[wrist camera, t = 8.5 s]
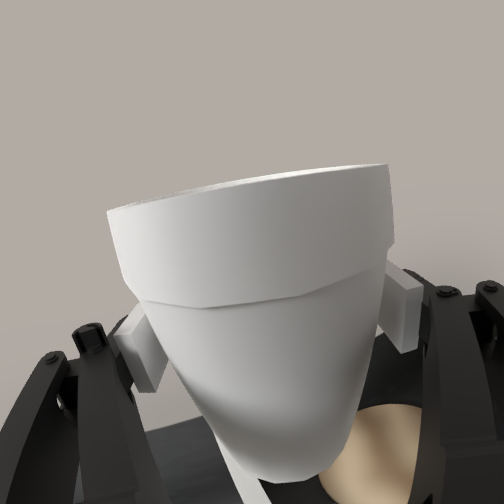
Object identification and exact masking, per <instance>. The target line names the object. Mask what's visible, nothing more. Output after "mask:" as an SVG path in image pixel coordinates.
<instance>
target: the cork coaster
mask: <svg viewBox="0 0 504 504" xmlns="http://www.w3.org/2000/svg"><path fill="white" fill-rule="evenodd" d="M421 412H422V409H421V408H418V407H415V406H410V405H403V404H385V405H378V406H373V407H369V408H366V409H363V410H360V411H358V412H356V415H355V419H354V422H353V425H352V428H351V431H350V434H349V437H348V440H347V442H346V444H345V448H344V449H343V451H342V452H341V453H340V455H339V456H338V457H337V459H336V460H335V461H334V463H333V464H332V465H331V467H330V468H328V469H326V470H324V471H322V472H320V473H319V474H318V476H319V480H320V482H321V485H322V487H323V489H324V490H325V492H326V493H327V494H328V495H329V496H330V498H331V499H332V500H334V501H335V502H336V503H337V504H407V503H408V500H409V497H410V493H411V488H412V483H413V478H414V472H415V466H416V459H417V452H418V444H419V436H420V425H421Z"/></svg>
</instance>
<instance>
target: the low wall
mask: <svg viewBox="0 0 504 504" xmlns="http://www.w3.org/2000/svg"><path fill="white" fill-rule="evenodd" d="M214 435H215V433H214ZM215 437H216V440H217V443H218V445H219V448H220V450H221V452H222V455H223V457H224V460H225V462H226V464H227V467H228V469H229V471H230V474H231V476H232V478H233V480H234V483H235V485H236V487H237V489H238V491H239V494H240V496H241V498H242V500H243V502H244V504H271V502H270V500H269V499H268V497H267V495H266V493H265V491H264V490H263V488H262V486H261V484H260V482H259V480H258V479H257V478H256V477H253V476H250V475H248V474H247V473H246V472H245V471H244V470H243V469H242V468H241V466H240V465H239V464H238V463H237V462H236V461H235V460H234V459H233V457H232V456H231V455H230V454H229V453H228V451H227V450H226V449H225V447H224V446H223V445H222V443H221V442H220V440H219V439H218V437H217V436H216V435H215Z"/></svg>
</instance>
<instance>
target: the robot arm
mask: <svg viewBox="0 0 504 504" xmlns="http://www.w3.org/2000/svg"><path fill="white" fill-rule="evenodd" d="M378 325H379V326H380V327H381V328H382V330H383V331H384V332H385V334H386V335H387V336H388V337H389V339H390V340H391V341H392V343H393V344H394V345H395V347H396V348H397V349H398V351H399V352H400V353H401V354H402V353H405V352H408V351H411V350H414V349H417V346H418V339H419V336H420V337H421V338H422V339H423V340H424V345H423V351H422V357H421V363H420V365H423V393H422V412H421V425H420V436H419V444H418V452H417V459H416V466H415V472H414V478H413V483H412V488H411V493H410V497H409V500H408V503H407V504H504V440H502V441H498V439H497V436H496V428H495V421H494V413H493V407H492V401H491V395H490V390H489V387H490V389H491V391H492V393H493V395H494V397H495V399H496V402H497V404H498V406H499V408H500V410H501V412H502V414H503V417H504V286H502V285H501V284H499V283H497V282H495V281H491V280H487V281H482V282H479V283H478V284H477V286H476V293H475V294H473V295H464V296H462V294H461V292H460V291H459V289H457V288H455V287H451V286H437V287H436V286H434V285H433V284H431V283H430V282H428V281H427V280H425V279H424V278H422V277H420V276H419V275H418V274H416V273H415V272H413V271H410V270H407V269H403V270H402V269H400V268H399V267H397V266H396V265H394V264H393V263H391V262H390V261H389V260H386V269H385V278H384V285H383V292H382V299H381V306H380V312H379V318H378ZM496 329H497V330H498V336H496V335H495V333H496ZM72 338H73V340H74V342H75V344H76V346H77V349H78V351H79V353H80V358H78V359H74V360H69V361H68V360H67V358H66V356H65V354H64V352H62V351H54V352H49V353H47V354H46V355H45V356H44V357H42V358H41V360H40V361H39V362H38V364H37V366H36V367H35V369H34V371H33V372H32V374H31V375H30V377H29V379H28V381H27V382H26V384H25V386H24V388H23V389H22V391H21V393H20V395H19V397H18V398H17V400H16V402H15V404H14V406H13V408H12V409H11V411H10V413H9V415H8V417H7V419H6V421H5V423H4V425H3V427H2V429H1V431H0V504H73V498H74V491H75V484H76V478H77V472H78V466H79V461H80V468H81V477H82V485H83V493H84V502H83V503H76V504H172V502H171V500H170V498H169V496H168V493H167V491H166V489H165V486H164V484H163V481H162V479H161V477H160V474H159V471H158V469H157V466H156V464H155V461H154V458H153V455H152V453H151V450H150V447H149V444H148V441H147V438H146V435H145V432H144V428H143V425H142V422H141V419H140V415H139V412H138V409H137V405H136V401H135V398H134V395H133V393H132V391H131V389H130V388H131V386H132V384H133V382H134V383H135V385H136V387H137V389H138V391H139V393H140V392H141V393H154V392H155V393H156V391H157V388H158V386H159V383H160V380H161V378H162V375H163V373H164V370H165V368H166V365H167V363H168V360H169V358H168V357H167V355H166V353H165V351H164V349H163V347H162V345H161V344H160V342H159V340H158V338H157V336H156V334H155V332H154V330H153V328H152V326H151V324H150V322H149V320H148V318H147V316H146V314H145V312H144V310H143V308H142V306H141V303H140V301H139V303H138V304H137V305H136V307H135V308H134V309H133V311H132V312H131V313H130V314H129V315H127V316H125V317H124V318H122V319H121V320H120V321H119V322H118V323H117V324H116V326H115V327H114V328H113V329H112V332H110V333H109V334H108V336H107V337H106V334H105V332H104V329H103V327H102V325H101V324H100V323H89V324H86V325H84V326H81V327H80V328H78V329H76V330H75V331H74V332H73V334H72ZM57 398H58V400H59V401H60V403H61V406H60V408H59V406H58V403H57Z"/></svg>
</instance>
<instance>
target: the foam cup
mask: <svg viewBox="0 0 504 504" xmlns="http://www.w3.org/2000/svg"><path fill="white" fill-rule="evenodd" d="M388 169H389V168H388V164H363V165H349V166H338V167H328V168H319V169H310V170H302V171H294V172H286V173H279V174H272V175H266V176H259V177H253V178H247V179H241V180H235V181H230V182H224V183H219V184H215V185H209V186H204V187H199V188H194V189H189V190H185V191H180V192H177V193H172V194H167V195H163V196H159V197H155V198H151V199H147V200H144V201H139V202H136V203H132V204H128V205H125V206H121V207H118V208H115V209H112V210H109V211H106V212H107V217H108V221H109V226H110V230H111V234H112V238H113V242H114V246H115V249H116V254H117V257H118V261H119V264H120V268H121V272H122V275H123V279H124V281H125V283H126V284H127V285H128V287H129V288H130V289H131V290H132V292H133V293H134V294H135V296H136V297H137V298H138V299H139V301H140V303H141V306H142V308H143V310H144V312H145V314H146V316H147V318H148V320H149V322H150V324H151V326H152V328H153V330H154V332H155V334H156V336H157V338H158V340H159V342H160V344H161V345H162V347H163V349H164V351H165V353H166V355H167V357H168V358H169V360H170V362H171V364H172V366H173V367H174V369H175V371H176V373H177V374H178V376H179V378H180V379H181V381H182V383H183V385H184V386H185V387H186V389H187V391H188V393H189V394H190V396H191V397H192V399H193V401H194V403H195V404H196V406H197V407H198V409H199V410H200V412H201V414H202V415H203V417H204V418H205V420H206V421H207V423H208V424H209V426H210V427H211V429H212V430H213V432H214V433H215V435H216V436H217V437H218V439H219V440H220V442H221V443H222V445H223V446H224V447H225V449H226V450H227V451H228V453H229V454H230V455H231V456H232V457H233V459H234V460H235V461H236V462H237V463H238V464H239V465H240V466H241V468H242V469H243V470H244V471H245V472H246V473H247V474H248V475H250V476H253V477H256V478H259V479H262V480H265V481H268V482H272V483H287V482H297V481H305V480H307V479H309V478H311V477H313V476H315V475H317V474H319V473H320V472H322V471H324V470H326V469H328V468H330V467H331V465H332V464H333V463H334V461H335V460H336V459H337V457H338V456H339V455H340V453H341V452H342V451H343V449H344V448H345V444H346V442H347V440H348V437H349V434H350V431H351V428H352V425H353V422H354V419H355V415H356V412H357V409H358V405H359V402H360V398H361V394H362V391H363V387H364V383H365V379H366V375H367V371H368V367H369V363H370V358H371V354H372V349H373V344H374V339H375V334H376V329H377V323H378V318H379V312H380V306H381V299H382V292H383V285H384V278H385V269H386V260H387V251H388V249H389V248H390V247H391V246H392V245H393V244H394V225H393V208H392V198H391V197H392V196H391V187H390V178H389V170H388Z"/></svg>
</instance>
